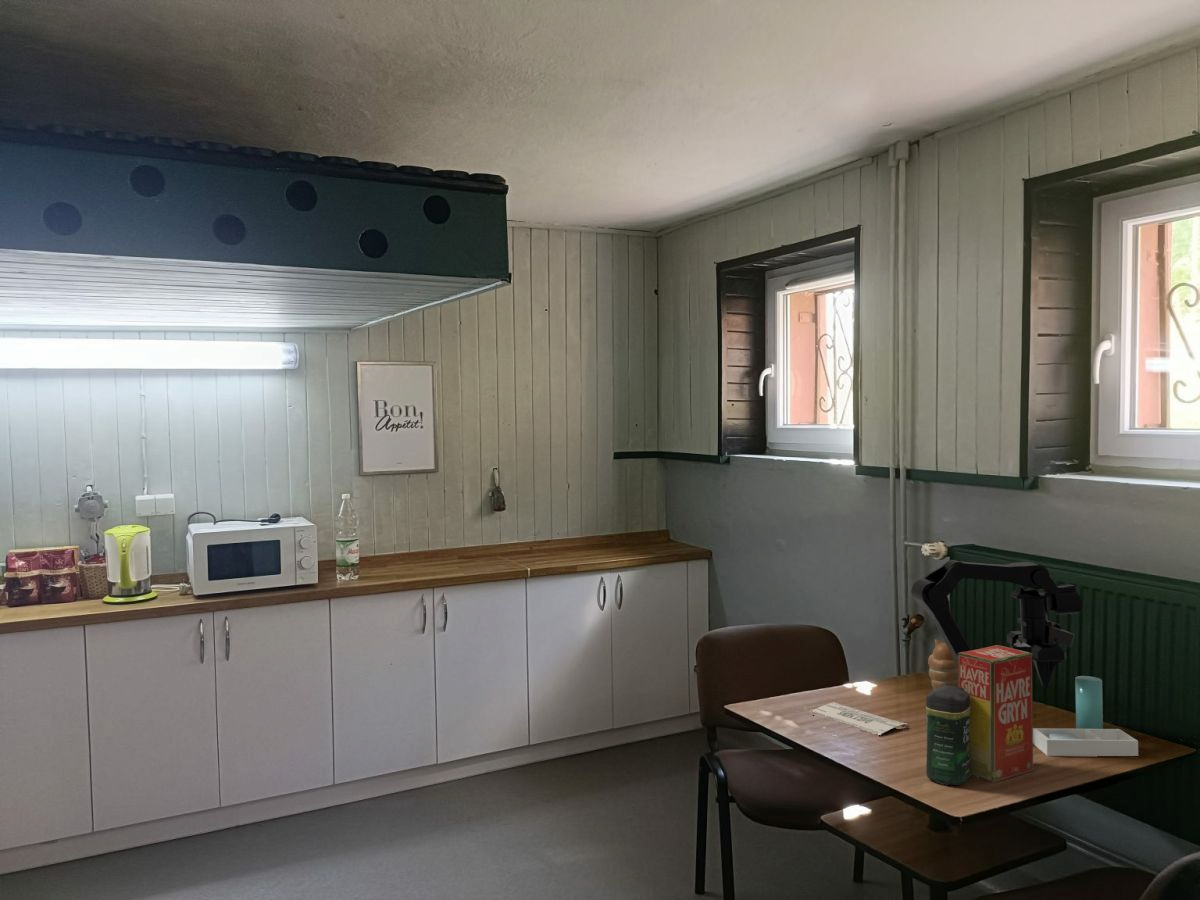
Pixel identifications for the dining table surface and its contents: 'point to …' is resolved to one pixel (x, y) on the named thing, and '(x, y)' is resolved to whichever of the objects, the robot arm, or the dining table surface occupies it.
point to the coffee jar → (948, 735)
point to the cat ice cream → (942, 667)
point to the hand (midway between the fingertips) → (1036, 681)
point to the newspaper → (858, 718)
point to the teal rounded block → (1088, 702)
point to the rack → (1084, 742)
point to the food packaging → (999, 710)
